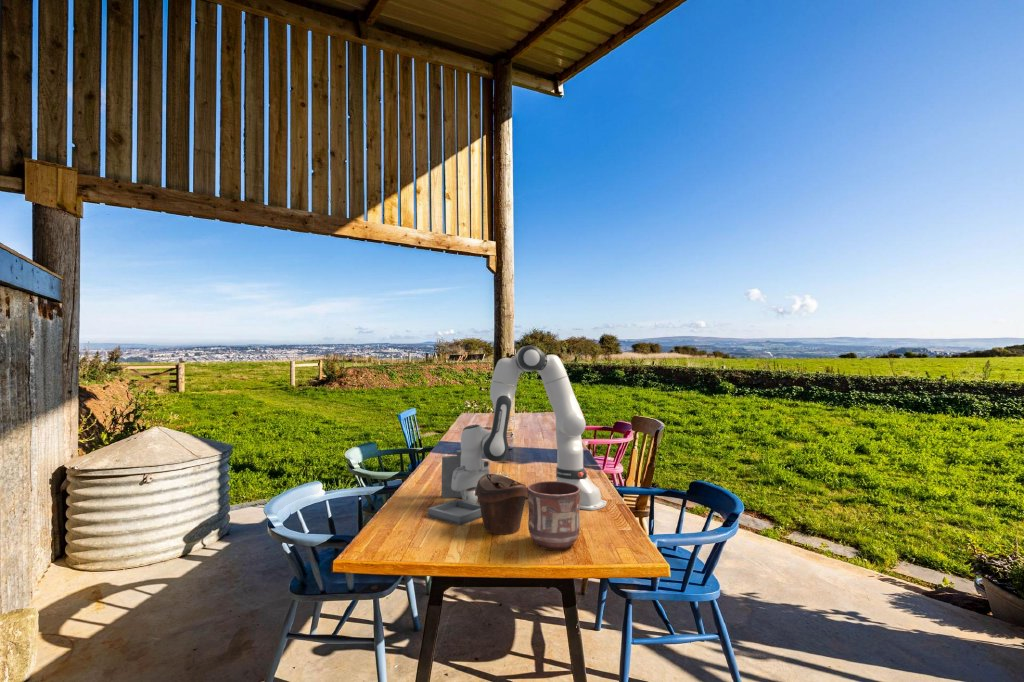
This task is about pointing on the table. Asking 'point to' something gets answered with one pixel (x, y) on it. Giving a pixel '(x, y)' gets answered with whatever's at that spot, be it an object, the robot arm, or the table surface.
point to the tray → (456, 512)
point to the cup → (471, 495)
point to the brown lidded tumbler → (501, 503)
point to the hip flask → (450, 475)
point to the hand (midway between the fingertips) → (470, 498)
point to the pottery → (554, 514)
